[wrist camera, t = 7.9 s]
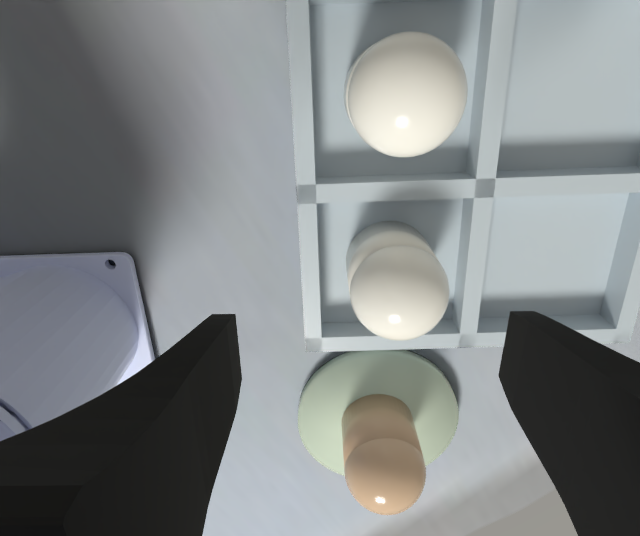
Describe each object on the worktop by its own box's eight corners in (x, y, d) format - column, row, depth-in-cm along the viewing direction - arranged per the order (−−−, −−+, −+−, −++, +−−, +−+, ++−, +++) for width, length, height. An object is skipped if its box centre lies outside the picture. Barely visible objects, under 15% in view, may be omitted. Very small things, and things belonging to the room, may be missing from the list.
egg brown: (341, 449, 26) (346, 535, 21) (341, 394, 24) (346, 473, 19) (410, 448, 26) (430, 534, 21) (415, 393, 24) (438, 472, 19)
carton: (306, 328, 24) (305, 352, 21) (288, -15, 17) (284, -27, 15) (602, 319, 23) (629, 342, 21) (690, -32, 17) (739, -46, 15)
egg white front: (344, 145, 19) (351, 169, 14) (342, 40, 17) (351, 27, 13) (437, 142, 19) (477, 164, 14) (445, 36, 17) (492, 22, 13)
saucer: (302, 471, 28) (302, 482, 27) (294, 348, 24) (293, 357, 23) (448, 467, 27) (451, 478, 27) (461, 344, 24) (466, 352, 23)
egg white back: (345, 299, 22) (353, 362, 17) (345, 222, 20) (352, 267, 16) (427, 297, 22) (457, 359, 17) (432, 219, 20) (467, 263, 16)
